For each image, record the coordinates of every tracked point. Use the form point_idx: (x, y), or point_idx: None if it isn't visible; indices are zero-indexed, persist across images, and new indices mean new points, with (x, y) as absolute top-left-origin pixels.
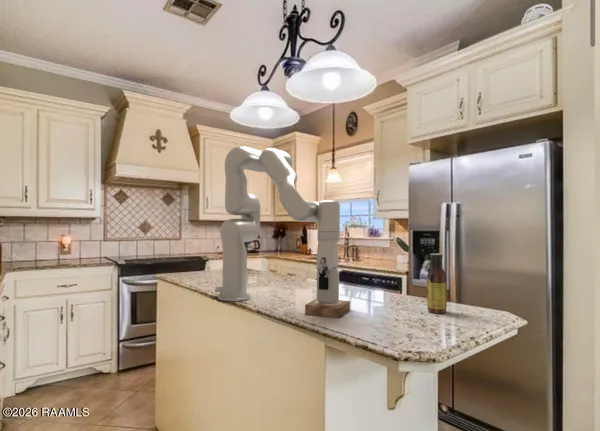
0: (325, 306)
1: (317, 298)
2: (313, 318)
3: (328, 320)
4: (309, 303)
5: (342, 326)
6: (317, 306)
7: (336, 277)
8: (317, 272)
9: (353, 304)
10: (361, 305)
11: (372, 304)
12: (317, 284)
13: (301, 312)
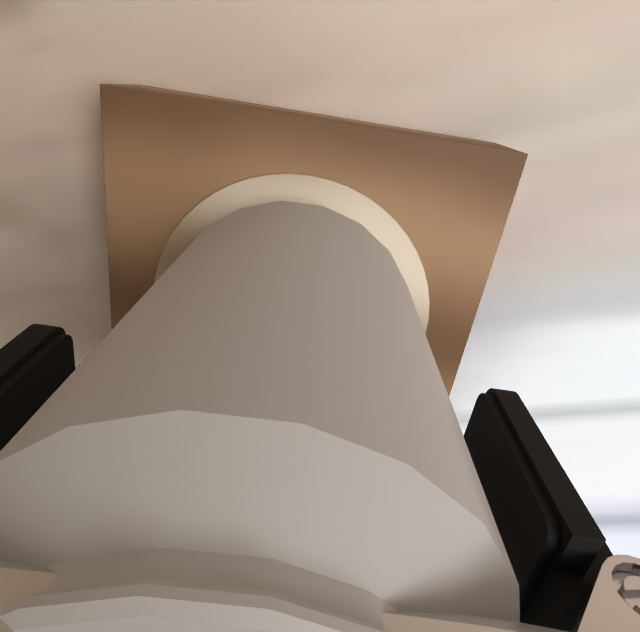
0: (127, 312)
1: (210, 228)
2: (30, 200)
3: (36, 321)
4: (193, 120)
5: None
6: (109, 235)
7: None
8: (20, 447)
9: (614, 430)
10: (578, 480)
11: (616, 537)
12: (153, 295)
13: (192, 24)
